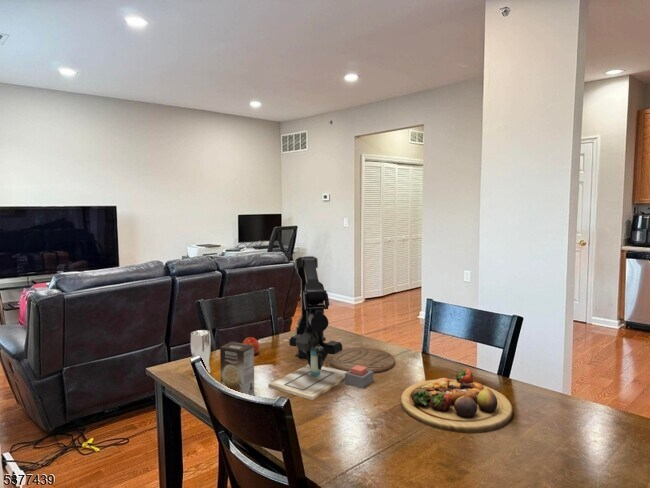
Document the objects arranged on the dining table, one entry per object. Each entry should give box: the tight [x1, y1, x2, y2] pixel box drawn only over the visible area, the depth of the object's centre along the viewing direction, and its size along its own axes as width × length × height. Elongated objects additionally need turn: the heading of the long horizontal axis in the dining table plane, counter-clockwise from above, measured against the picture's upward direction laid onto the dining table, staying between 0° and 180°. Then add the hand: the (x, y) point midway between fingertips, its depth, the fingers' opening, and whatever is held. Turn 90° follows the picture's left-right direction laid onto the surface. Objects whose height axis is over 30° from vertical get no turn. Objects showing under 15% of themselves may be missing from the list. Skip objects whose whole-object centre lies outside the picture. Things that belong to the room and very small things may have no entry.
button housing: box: [344, 370, 374, 389], centre depth 152 cm, size 7×7×4 cm
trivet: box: [328, 347, 396, 375], centre depth 172 cm, size 25×25×2 cm
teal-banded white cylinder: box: [310, 347, 320, 376], centre depth 155 cm, size 3×3×9 cm
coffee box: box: [219, 341, 255, 396], centre depth 142 cm, size 9×6×16 cm
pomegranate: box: [242, 336, 261, 355], centre depth 181 cm, size 7×7×10 cm
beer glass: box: [190, 329, 212, 376], centre depth 160 cm, size 7×7×15 cm
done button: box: [351, 365, 367, 376], centre depth 152 cm, size 4×4×3 cm
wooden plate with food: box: [400, 368, 514, 434], centre depth 134 cm, size 32×32×8 cm
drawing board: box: [267, 363, 347, 401], centre depth 153 cm, size 24×18×1 cm
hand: (315, 368), depth 155 cm, fingers closed on teal-banded white cylinder, 3 cm apart
